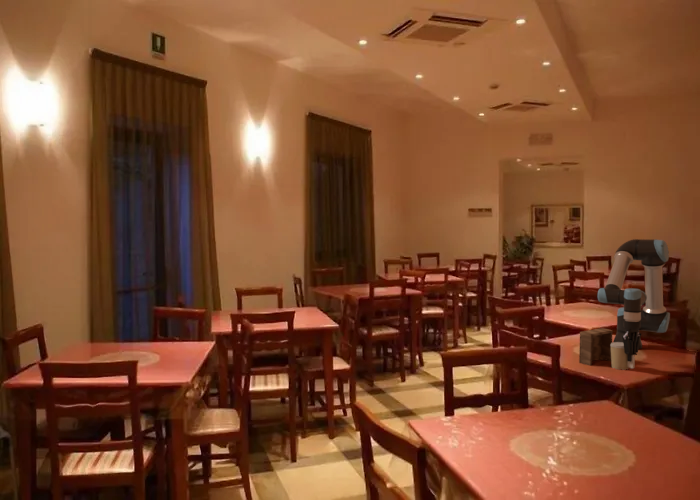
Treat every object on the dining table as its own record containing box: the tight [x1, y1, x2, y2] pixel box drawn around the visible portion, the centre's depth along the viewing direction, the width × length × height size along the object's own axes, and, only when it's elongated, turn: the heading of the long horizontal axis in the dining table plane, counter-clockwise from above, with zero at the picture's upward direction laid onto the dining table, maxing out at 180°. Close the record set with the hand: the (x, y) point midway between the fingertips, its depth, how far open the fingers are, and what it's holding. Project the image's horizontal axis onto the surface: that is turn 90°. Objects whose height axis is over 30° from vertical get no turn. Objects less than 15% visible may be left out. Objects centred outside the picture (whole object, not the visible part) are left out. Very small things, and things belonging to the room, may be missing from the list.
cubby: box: [578, 327, 613, 366], centre depth 289 cm, size 18×6×16 cm, turn 121°
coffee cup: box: [610, 341, 629, 371], centre depth 278 cm, size 9×9×12 cm
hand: (630, 367), depth 273 cm, fingers closed
